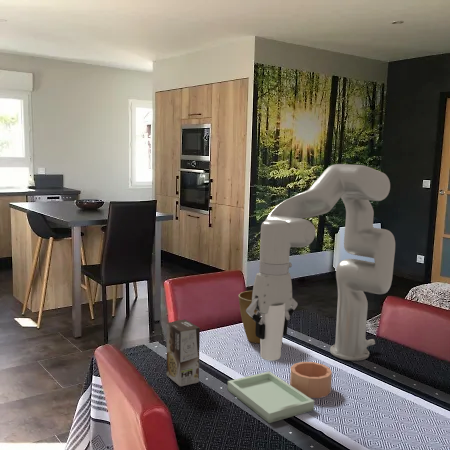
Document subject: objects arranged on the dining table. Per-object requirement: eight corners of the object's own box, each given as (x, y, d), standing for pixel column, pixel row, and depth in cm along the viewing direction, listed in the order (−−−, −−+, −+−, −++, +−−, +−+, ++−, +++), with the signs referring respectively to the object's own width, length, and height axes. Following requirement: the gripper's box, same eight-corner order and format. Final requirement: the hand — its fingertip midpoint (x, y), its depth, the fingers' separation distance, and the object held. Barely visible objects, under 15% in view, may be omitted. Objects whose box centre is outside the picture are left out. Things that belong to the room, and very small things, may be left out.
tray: (269, 379, 149) (269, 371, 149) (313, 410, 132) (314, 400, 132) (227, 389, 142) (227, 381, 142) (268, 423, 125) (269, 413, 125)
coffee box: (199, 382, 146) (200, 327, 144) (179, 387, 143) (180, 331, 141) (185, 370, 154) (185, 318, 152) (165, 375, 151) (165, 321, 148)
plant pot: (281, 348, 173) (283, 302, 171) (237, 347, 173) (238, 301, 171) (277, 332, 188) (279, 290, 186) (237, 331, 188) (238, 289, 186)
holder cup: (312, 377, 152) (313, 359, 151) (338, 392, 142) (339, 373, 141) (282, 384, 146) (283, 366, 145) (307, 401, 137) (308, 381, 136)
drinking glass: (282, 363, 131) (284, 306, 129) (255, 361, 133) (257, 304, 131) (284, 353, 138) (286, 299, 136) (259, 351, 139) (261, 297, 137)
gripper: (292, 262, 140) (289, 326, 142) (237, 268, 131) (235, 336, 133) (309, 268, 133) (306, 335, 136) (253, 274, 125) (251, 345, 127)
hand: (271, 335), depth 135 cm, fingers closed on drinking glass, 6 cm apart
